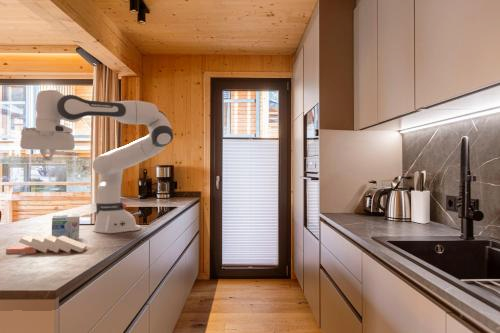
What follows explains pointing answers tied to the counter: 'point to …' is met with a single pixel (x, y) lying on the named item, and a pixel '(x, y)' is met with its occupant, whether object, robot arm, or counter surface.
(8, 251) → the domino
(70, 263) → the counter surface
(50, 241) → the domino
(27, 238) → the domino
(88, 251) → the thin board
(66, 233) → the light bulb box
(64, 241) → the domino
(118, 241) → the counter surface
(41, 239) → the domino
